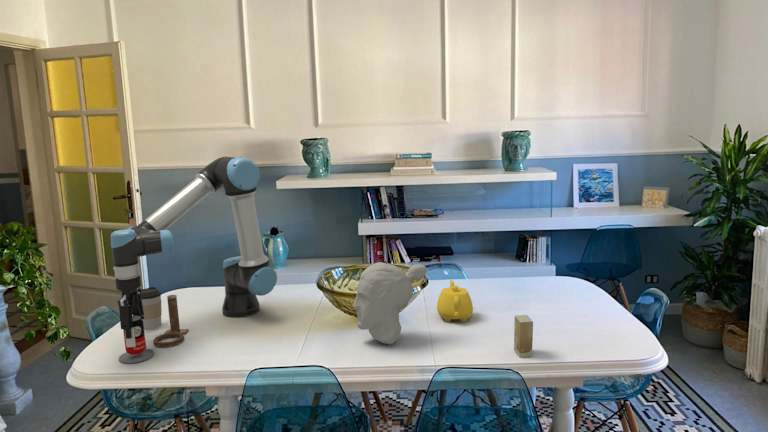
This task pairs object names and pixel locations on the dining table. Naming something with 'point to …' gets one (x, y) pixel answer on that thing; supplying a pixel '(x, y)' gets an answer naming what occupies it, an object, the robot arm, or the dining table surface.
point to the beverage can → (137, 336)
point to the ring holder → (171, 326)
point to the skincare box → (523, 336)
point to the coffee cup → (151, 308)
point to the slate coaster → (136, 357)
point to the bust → (384, 298)
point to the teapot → (454, 303)
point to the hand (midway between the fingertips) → (135, 342)
